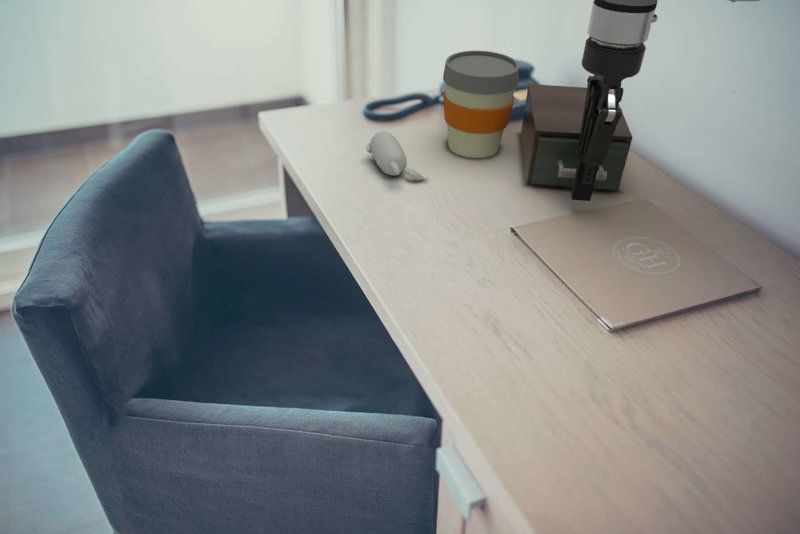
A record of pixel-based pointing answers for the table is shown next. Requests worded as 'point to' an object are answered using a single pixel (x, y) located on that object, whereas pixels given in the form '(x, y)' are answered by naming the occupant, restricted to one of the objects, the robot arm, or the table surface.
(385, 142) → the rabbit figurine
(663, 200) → the table surface
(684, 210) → the table surface
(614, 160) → the drawer
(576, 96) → the cabinet
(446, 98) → the reusable coffee cup
